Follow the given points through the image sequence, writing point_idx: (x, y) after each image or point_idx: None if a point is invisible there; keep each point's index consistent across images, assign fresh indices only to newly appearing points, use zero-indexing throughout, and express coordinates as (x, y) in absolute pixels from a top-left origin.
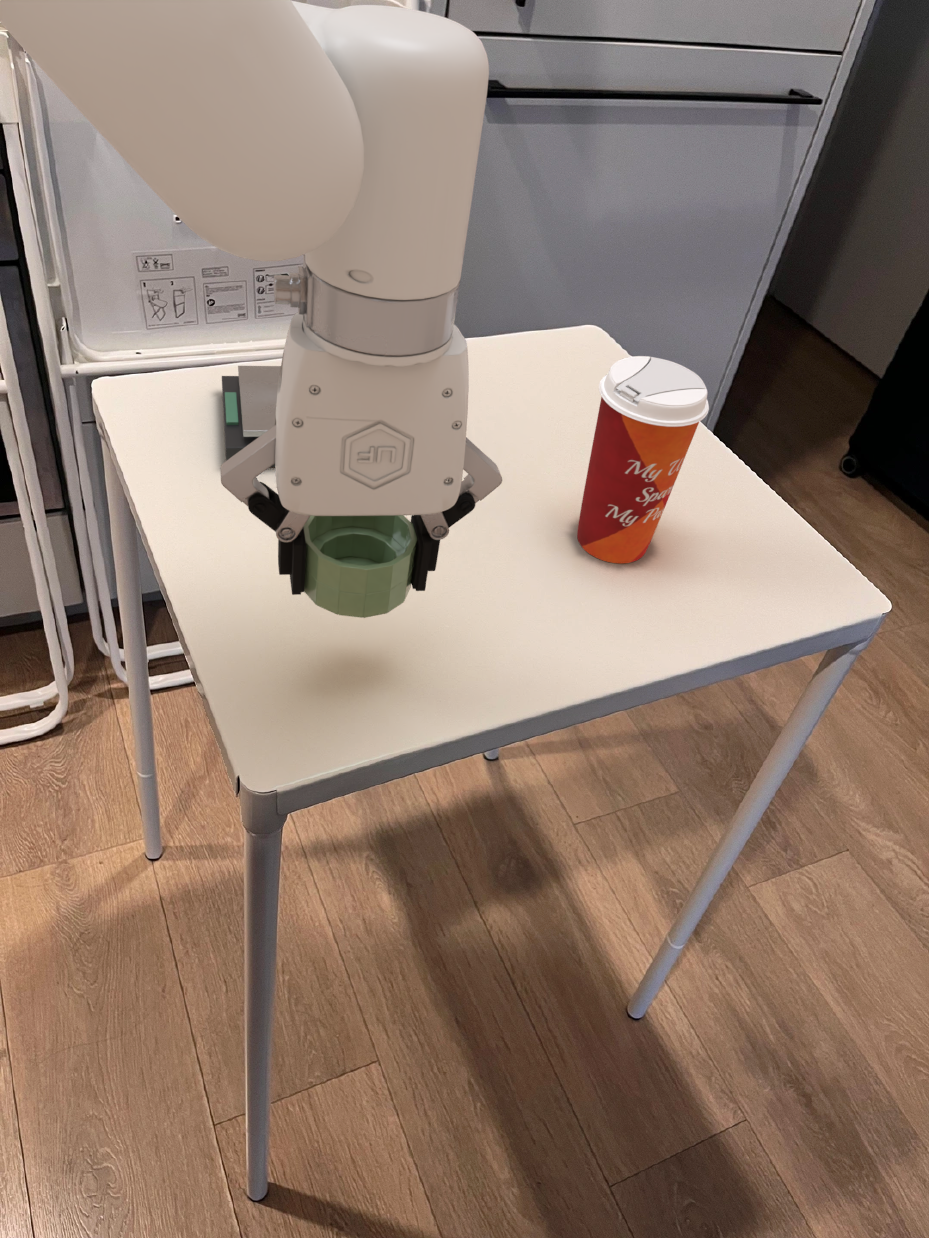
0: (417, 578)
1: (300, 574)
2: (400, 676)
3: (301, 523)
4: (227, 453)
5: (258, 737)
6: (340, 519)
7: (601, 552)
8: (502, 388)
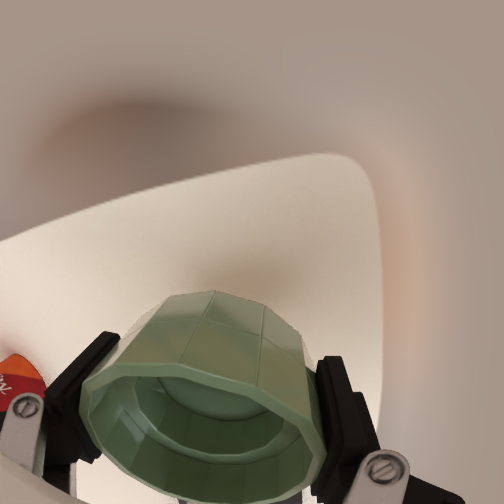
0: (105, 349)
1: (335, 386)
2: (186, 278)
3: (356, 500)
4: (301, 499)
5: (352, 216)
6: (229, 478)
7: (27, 367)
8: (109, 493)
